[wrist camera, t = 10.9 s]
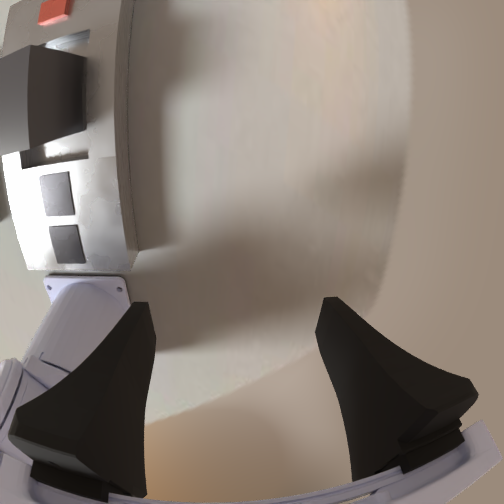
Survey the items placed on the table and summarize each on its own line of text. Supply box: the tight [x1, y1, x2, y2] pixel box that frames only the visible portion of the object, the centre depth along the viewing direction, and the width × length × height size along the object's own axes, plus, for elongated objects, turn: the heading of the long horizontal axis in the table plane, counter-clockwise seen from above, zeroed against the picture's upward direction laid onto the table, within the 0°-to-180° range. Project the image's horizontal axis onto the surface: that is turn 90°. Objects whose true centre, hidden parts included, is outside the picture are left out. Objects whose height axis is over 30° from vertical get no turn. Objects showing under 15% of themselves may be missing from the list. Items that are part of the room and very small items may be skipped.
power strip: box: [2, 0, 139, 271], centre depth 13 cm, size 20×9×3 cm, turn 177°
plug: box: [0, 45, 84, 157], centre depth 10 cm, size 5×4×6 cm
